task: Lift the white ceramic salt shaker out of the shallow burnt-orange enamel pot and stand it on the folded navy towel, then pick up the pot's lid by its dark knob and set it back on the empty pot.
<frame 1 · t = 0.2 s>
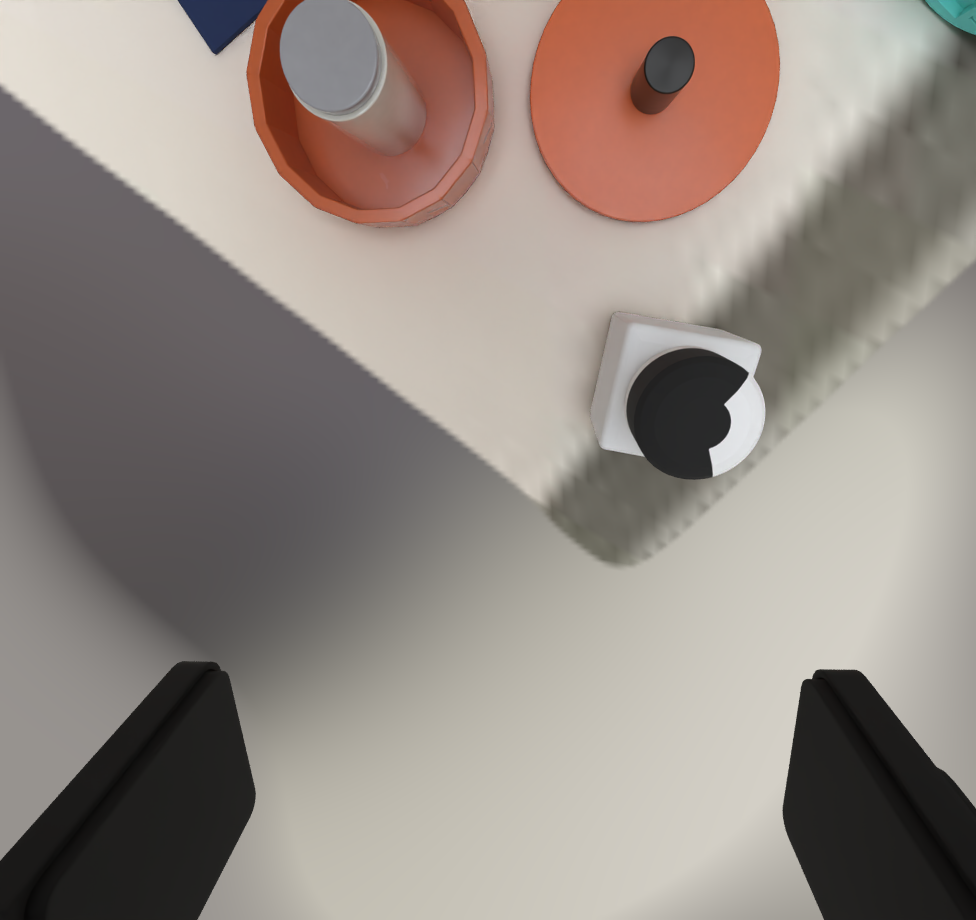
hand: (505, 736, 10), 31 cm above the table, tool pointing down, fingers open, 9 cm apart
pot: (389, 113, 34), on the table
salt shaker: (387, 112, 34), resting on pot
medicine bottle: (653, 374, 38), on the table
pot lid: (650, 92, 32), point 1 cm above the table
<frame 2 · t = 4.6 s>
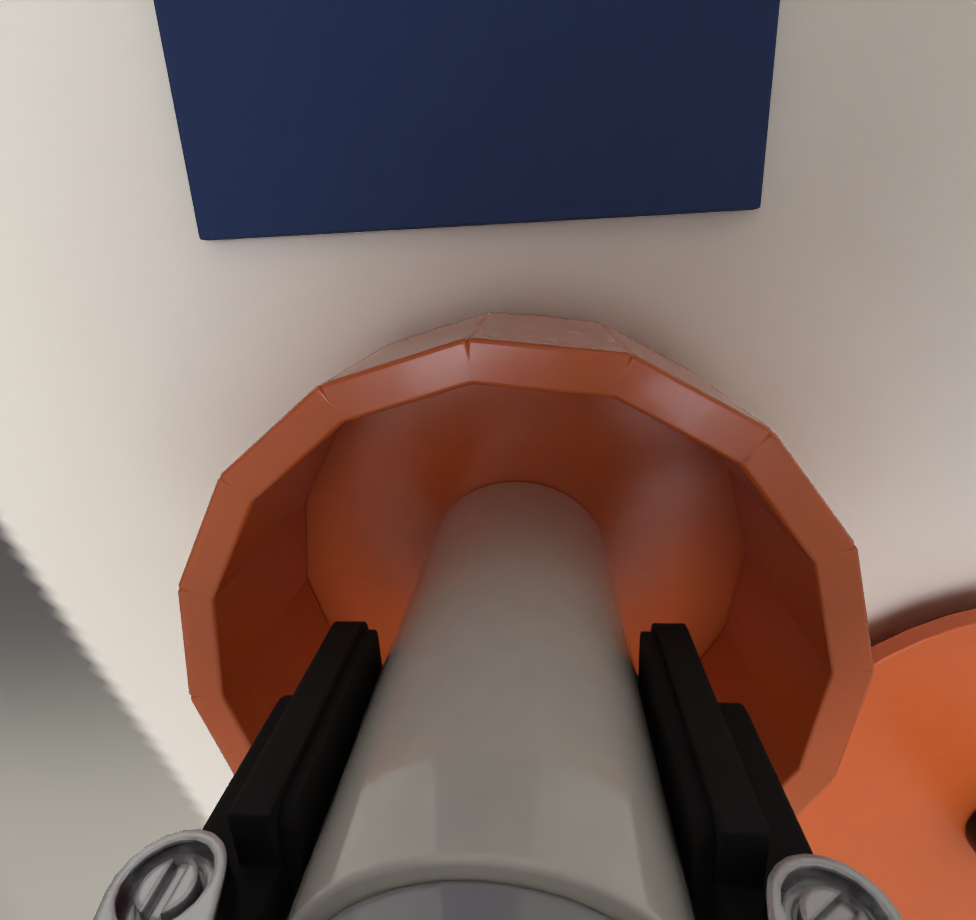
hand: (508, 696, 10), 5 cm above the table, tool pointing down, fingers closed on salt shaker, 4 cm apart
pot: (517, 556, 15), on the table
salt shaker: (517, 564, 15), resting on pot, touching gripper
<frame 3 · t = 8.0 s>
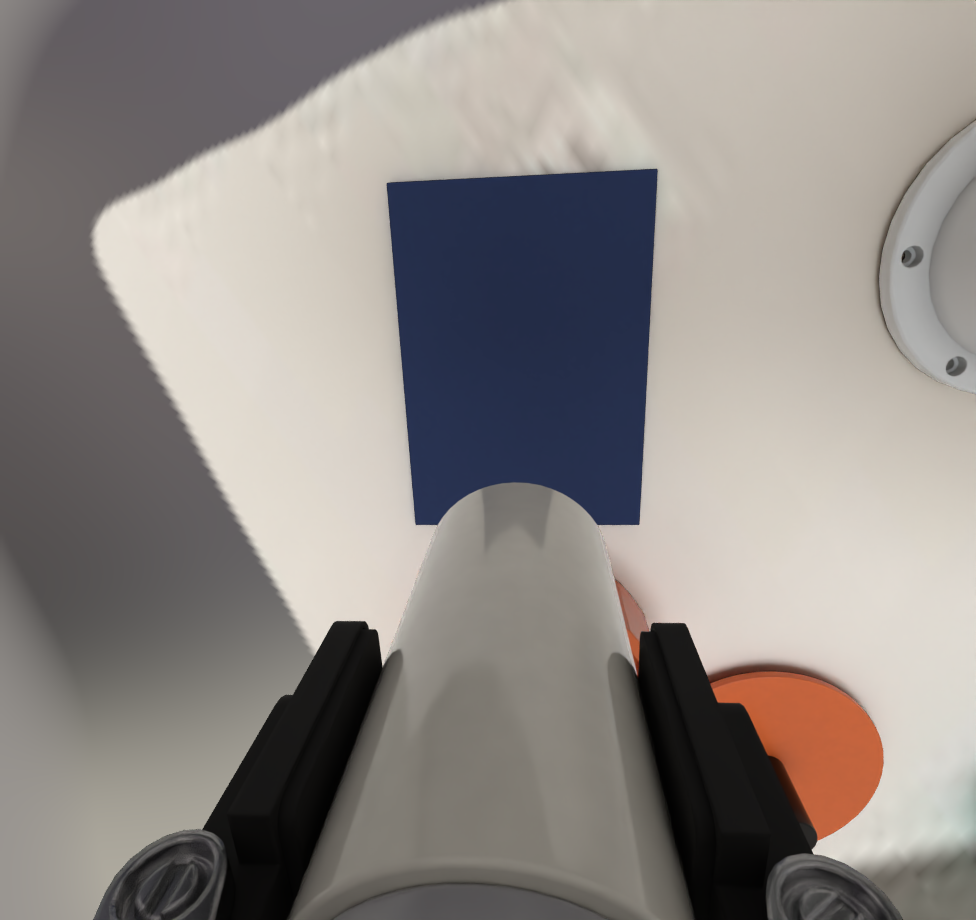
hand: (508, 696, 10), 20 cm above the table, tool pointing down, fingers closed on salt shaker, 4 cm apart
pot: (541, 648, 34), on the table
towel: (522, 365, 29), on the table
salt shaker: (517, 565, 15), point 16 cm above the table, touching gripper
pot lid: (759, 763, 35), point 1 cm above the table
when the fingers open (5 cm above the table, at t = 11.8 s): salt shaker stays where it is, resting on towel.
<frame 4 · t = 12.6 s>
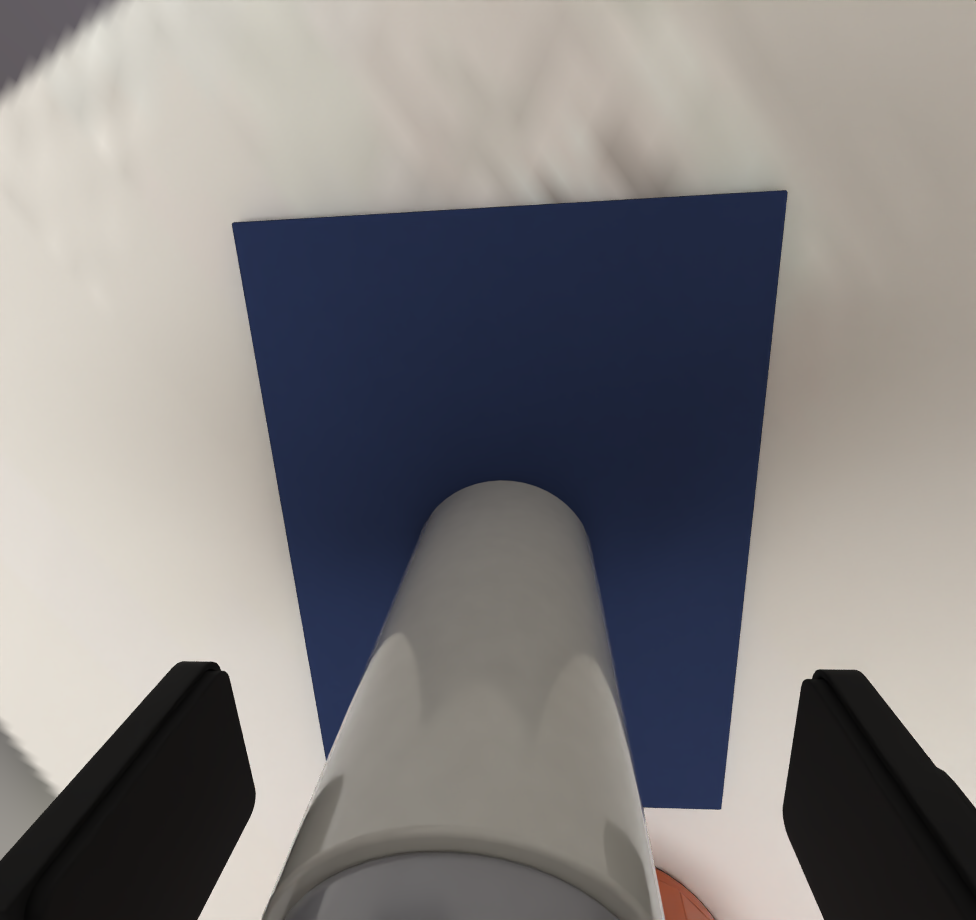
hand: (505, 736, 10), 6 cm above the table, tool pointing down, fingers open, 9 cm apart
towel: (512, 552, 16), on the table
salt shaker: (503, 561, 15), resting on towel
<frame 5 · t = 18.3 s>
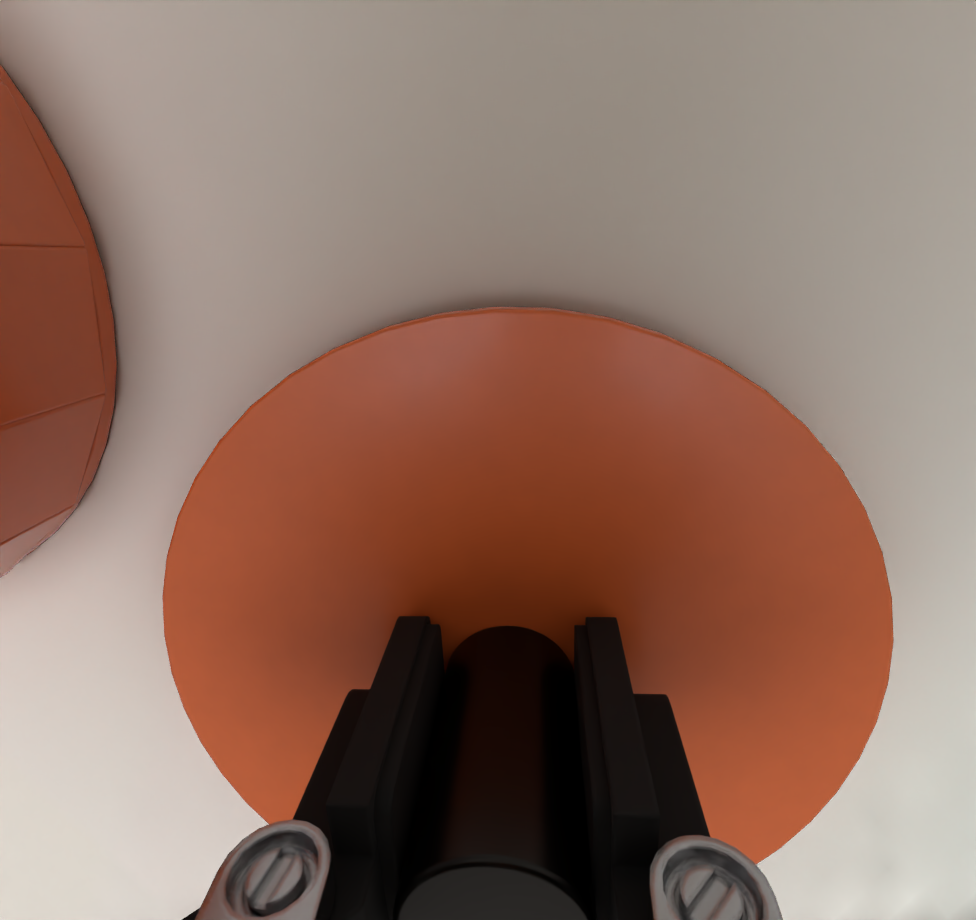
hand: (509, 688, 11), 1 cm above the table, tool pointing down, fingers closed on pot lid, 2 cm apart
pot lid: (511, 660, 11), point 1 cm above the table, touching gripper
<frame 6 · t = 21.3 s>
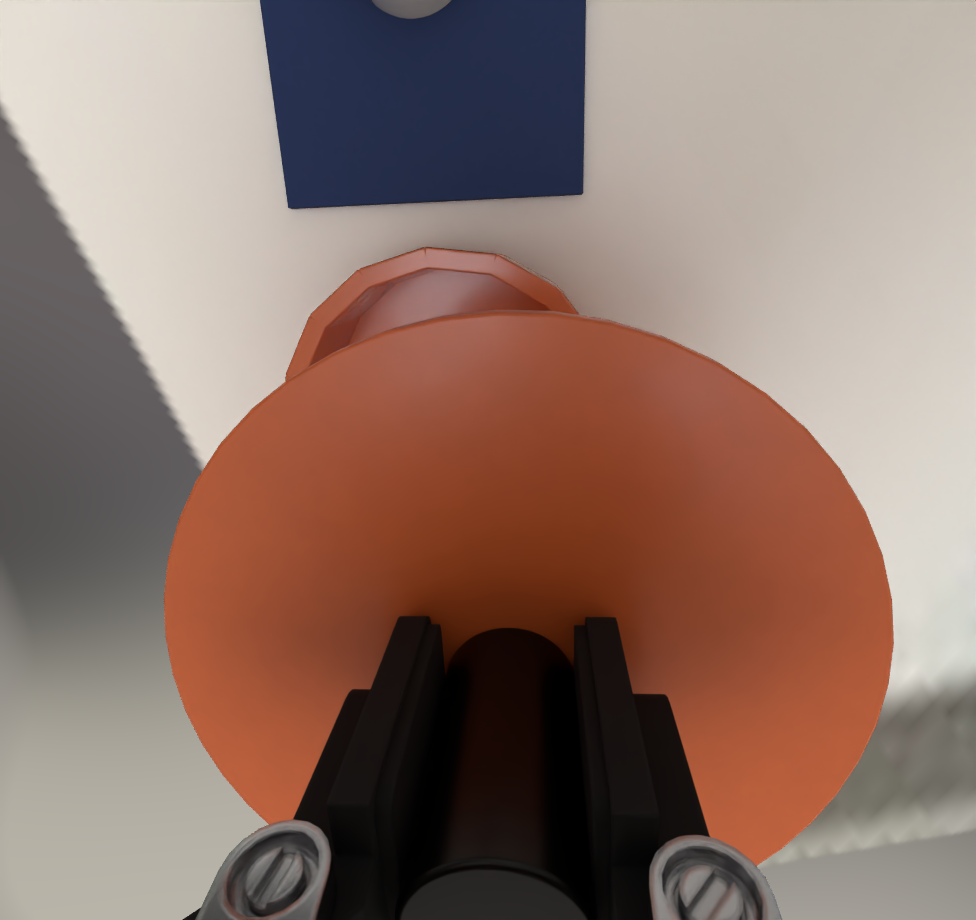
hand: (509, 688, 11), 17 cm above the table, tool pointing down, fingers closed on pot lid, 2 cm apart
pot: (463, 396, 26), on the table
pot lid: (511, 662, 11), point 16 cm above the table, touching gripper
when the fingers open (6 cm above the table, at t = 24.4 s): pot lid stays where it is, resting on pot.
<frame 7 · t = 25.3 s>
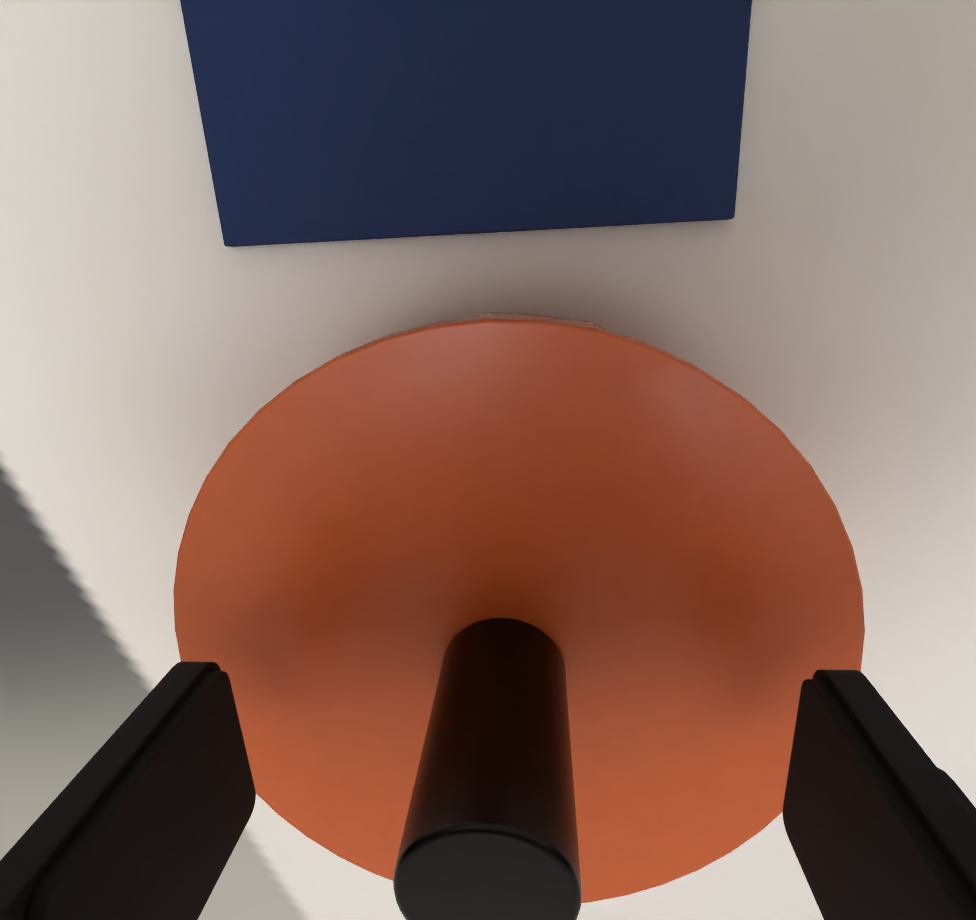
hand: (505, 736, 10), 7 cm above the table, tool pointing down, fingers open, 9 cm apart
pot: (515, 539, 17), on the table
pot lid: (504, 652, 12), point 5 cm above the table, touching pot
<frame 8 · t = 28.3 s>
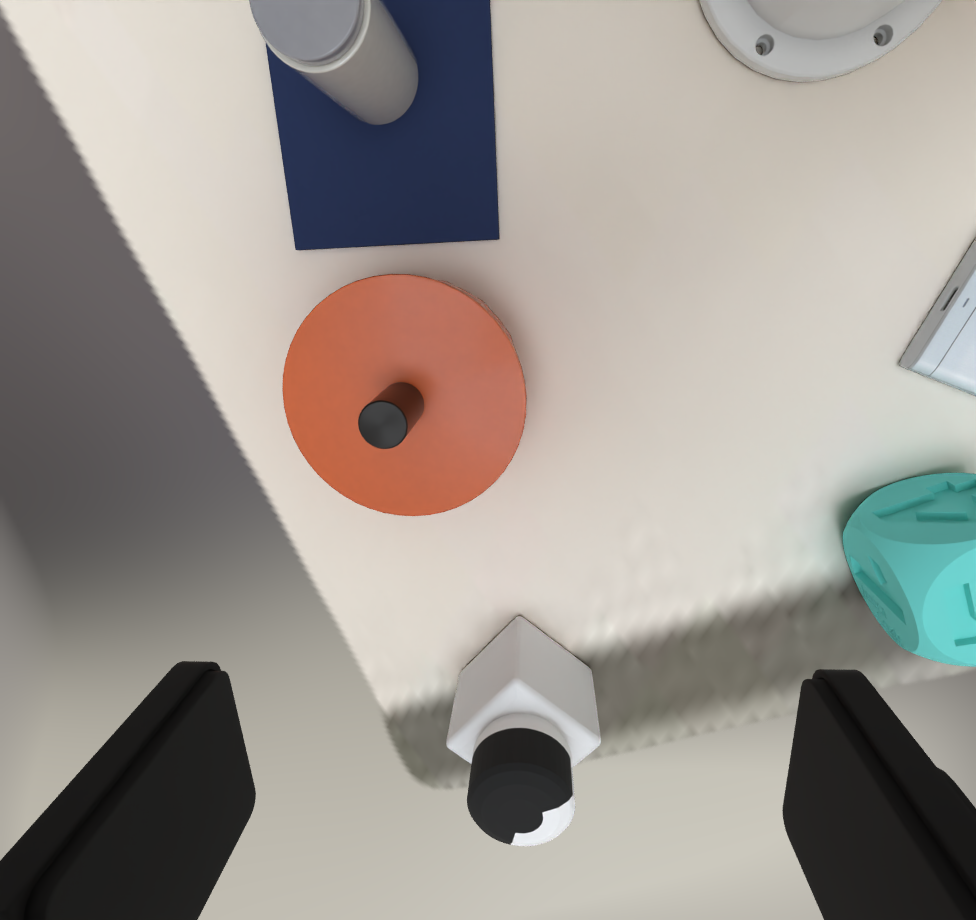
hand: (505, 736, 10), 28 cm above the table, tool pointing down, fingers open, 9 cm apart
towel: (381, 76, 31), on the table
salt shaker: (375, 76, 31), resting on towel
medicine bottle: (524, 668, 43), on the table
decorative dice: (906, 533, 38), on the table
pot lid: (404, 401, 32), point 5 cm above the table, touching pot
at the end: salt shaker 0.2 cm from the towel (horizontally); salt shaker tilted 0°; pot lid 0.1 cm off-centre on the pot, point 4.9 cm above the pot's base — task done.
